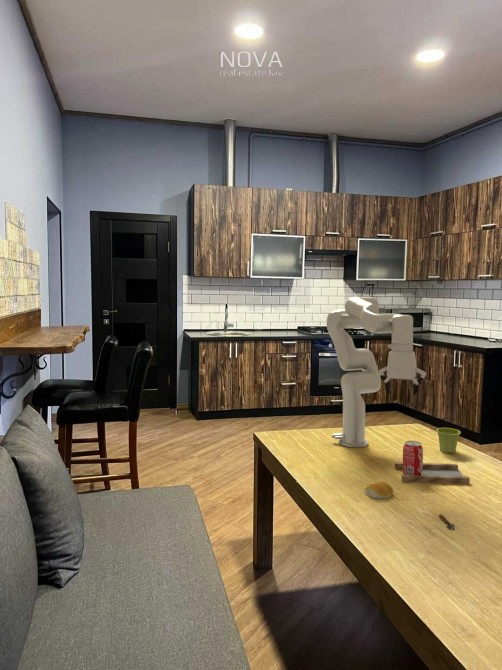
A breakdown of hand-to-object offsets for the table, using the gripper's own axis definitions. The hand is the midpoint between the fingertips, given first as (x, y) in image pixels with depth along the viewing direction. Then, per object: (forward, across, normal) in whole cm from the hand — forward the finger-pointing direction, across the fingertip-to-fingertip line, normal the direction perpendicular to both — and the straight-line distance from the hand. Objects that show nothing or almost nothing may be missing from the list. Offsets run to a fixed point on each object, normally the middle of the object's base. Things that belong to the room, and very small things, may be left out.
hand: (401, 393), depth 191 cm
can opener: (+30, +20, -38) cm, 53 cm away
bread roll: (+30, -2, -26) cm, 40 cm away
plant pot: (+29, +14, +30) cm, 44 cm away
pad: (+29, +15, +1) cm, 33 cm away
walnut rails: (+29, +11, -1) cm, 31 cm away
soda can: (+29, +5, -4) cm, 30 cm away
